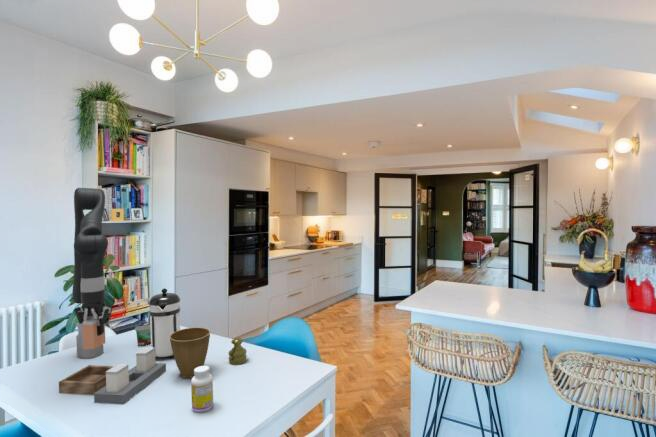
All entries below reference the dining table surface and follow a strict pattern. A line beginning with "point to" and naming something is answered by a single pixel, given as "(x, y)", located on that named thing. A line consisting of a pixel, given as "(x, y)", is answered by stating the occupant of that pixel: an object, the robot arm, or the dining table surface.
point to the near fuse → (117, 378)
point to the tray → (85, 380)
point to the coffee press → (164, 321)
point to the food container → (143, 334)
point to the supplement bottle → (202, 389)
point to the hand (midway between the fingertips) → (94, 334)
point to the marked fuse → (92, 335)
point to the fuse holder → (130, 385)
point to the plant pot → (190, 349)
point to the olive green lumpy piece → (237, 352)
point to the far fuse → (145, 359)
